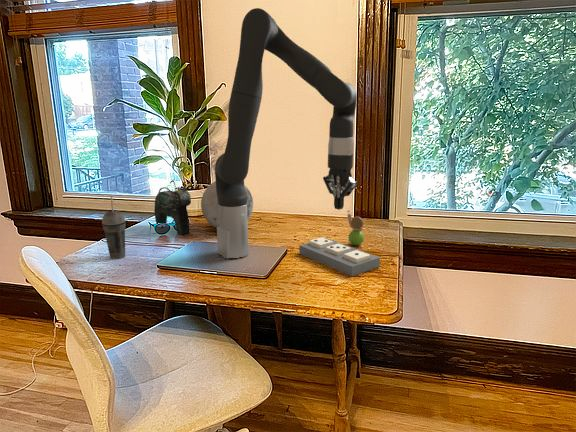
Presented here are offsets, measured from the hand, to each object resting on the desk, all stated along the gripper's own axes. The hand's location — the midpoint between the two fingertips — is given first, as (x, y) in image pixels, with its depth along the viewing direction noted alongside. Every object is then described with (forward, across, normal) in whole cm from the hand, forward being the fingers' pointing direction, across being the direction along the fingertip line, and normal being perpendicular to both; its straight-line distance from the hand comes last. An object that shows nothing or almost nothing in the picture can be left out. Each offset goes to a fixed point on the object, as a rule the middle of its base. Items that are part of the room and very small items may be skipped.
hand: (338, 208), depth 136 cm
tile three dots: (+15, 0, 0) cm, 15 cm away
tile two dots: (+15, -8, 0) cm, 17 cm away
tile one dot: (+15, +8, 0) cm, 17 cm away
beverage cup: (+18, -47, -54) cm, 73 cm away
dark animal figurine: (+17, -63, -28) cm, 71 cm away
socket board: (+17, 0, 0) cm, 17 cm away
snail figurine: (+17, -7, +15) cm, 24 cm away
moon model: (+17, -51, -10) cm, 55 cm away
